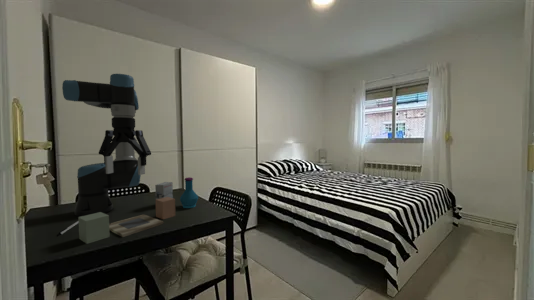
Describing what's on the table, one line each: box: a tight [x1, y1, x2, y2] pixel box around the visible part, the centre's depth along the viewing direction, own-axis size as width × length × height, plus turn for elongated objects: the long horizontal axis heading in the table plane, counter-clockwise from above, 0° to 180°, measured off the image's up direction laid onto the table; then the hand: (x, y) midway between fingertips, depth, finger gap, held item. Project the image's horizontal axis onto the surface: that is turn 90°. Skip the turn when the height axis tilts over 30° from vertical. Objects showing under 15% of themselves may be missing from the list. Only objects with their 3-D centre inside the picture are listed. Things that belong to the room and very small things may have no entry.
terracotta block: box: [155, 197, 176, 220], centre depth 108 cm, size 6×6×8 cm
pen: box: [56, 220, 79, 237], centre depth 96 cm, size 1×19×1 cm, turn 14°
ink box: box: [154, 181, 174, 200], centre depth 126 cm, size 9×5×12 cm, turn 168°
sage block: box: [77, 212, 111, 244], centre depth 85 cm, size 7×7×8 cm
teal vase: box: [179, 176, 199, 209], centre depth 123 cm, size 9×9×15 cm
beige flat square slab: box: [109, 214, 164, 238], centre depth 97 cm, size 16×16×1 cm
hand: (125, 173), depth 89 cm, fingers open, 13 cm apart
